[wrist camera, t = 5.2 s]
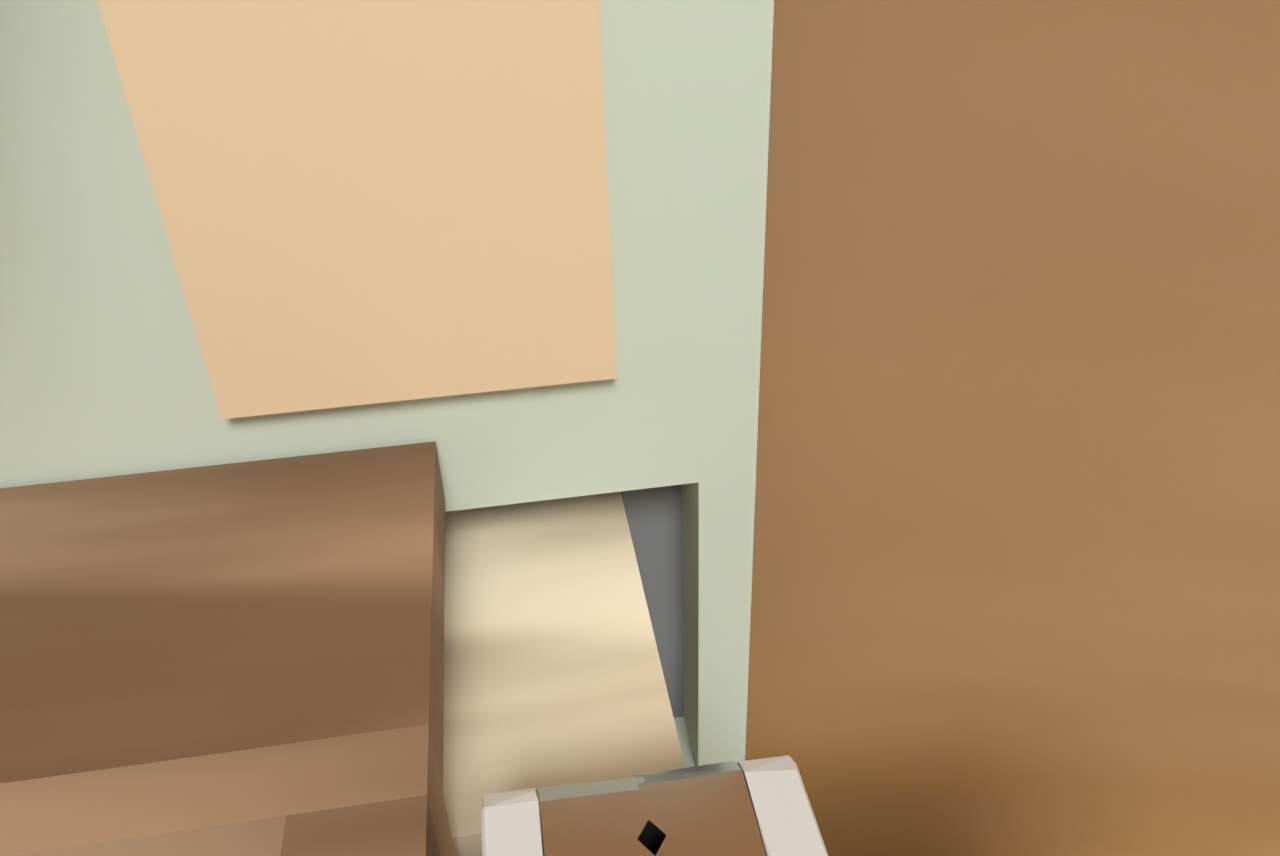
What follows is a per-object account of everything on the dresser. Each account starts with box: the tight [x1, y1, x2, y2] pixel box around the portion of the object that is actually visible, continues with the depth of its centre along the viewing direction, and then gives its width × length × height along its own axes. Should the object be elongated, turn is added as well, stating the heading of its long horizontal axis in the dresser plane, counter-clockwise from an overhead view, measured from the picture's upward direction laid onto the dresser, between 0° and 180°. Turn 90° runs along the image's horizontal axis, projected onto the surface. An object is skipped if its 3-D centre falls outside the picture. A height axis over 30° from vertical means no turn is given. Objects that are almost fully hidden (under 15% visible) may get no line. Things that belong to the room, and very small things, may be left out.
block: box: [443, 492, 685, 856], centre depth 15 cm, size 4×4×6 cm
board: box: [0, 0, 774, 768], centre depth 15 cm, size 16×15×3 cm
